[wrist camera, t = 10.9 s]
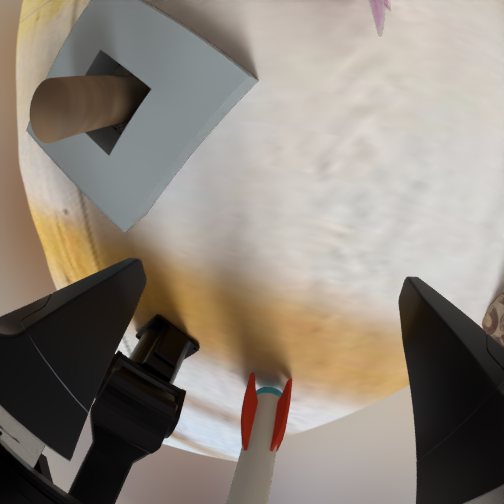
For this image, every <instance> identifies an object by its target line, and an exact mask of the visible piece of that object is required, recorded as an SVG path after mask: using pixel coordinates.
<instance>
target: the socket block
mask: <svg viewBox="0 0 504 504" xmlns="http://www.w3.org/2000/svg"><path fill="white" fill-rule="evenodd" d="M119 64H121V65H122V66H123V67H125V68H126V69H127V70H128V71H130V72H131V73H132V74H134V75H135V76H136V77H137V78H139V79H140V80H141V81H142V82H144V83H145V84H146V85H147V86H149V87H150V88H151V91H150V92H149V93H148V95H147V96H146V98H145V99H144V100H143V102H142V103H141V105H140V106H139V108H138V109H137V111H136V112H135V114H134V115H133V117H132V119H131V120H130V122H129V123H128V125H127V126H126V128H125V130H124V131H123V133H122V135H121V134H120V133H118V132H117V131H116V130H115V129H114V128H113V127H112V126H108V127H104V128H100V129H96V130H92V131H88V132H85V133H81V134H78V135H74V136H71V137H68V138H65V139H62V140H59V141H55V142H53V143H43V142H41V141H40V140H39V139H38V138H37V137H36V136H35V134H34V132H33V130H32V127H31V122H30V121H29V124H28V127H27V130H26V131H27V132H28V133H29V134H30V135H31V137H32V138H33V139H34V140H35V141H36V142H37V144H38V145H39V146H40V147H41V148H42V149H43V150H44V151H45V153H46V154H47V155H48V156H49V157H50V158H51V159H52V160H53V161H54V163H55V164H56V165H57V166H58V167H59V168H60V169H61V170H62V171H63V172H64V173H65V174H66V175H67V177H68V178H69V179H70V180H71V181H72V182H73V183H74V184H75V185H76V186H77V187H78V188H79V189H80V190H81V191H82V192H83V193H84V194H85V195H86V196H87V197H88V198H89V199H90V200H91V201H92V202H93V203H94V204H95V205H96V206H97V207H98V208H99V209H100V210H101V211H102V212H103V213H104V214H105V215H106V216H107V217H108V218H109V219H110V220H111V221H112V222H113V223H114V224H115V225H116V226H117V227H119V228H120V229H121V230H122V231H123V232H124V233H125V232H126V231H128V230H129V229H130V228H131V227H132V226H133V225H135V224H136V223H137V222H138V221H139V220H141V219H142V218H143V217H144V216H145V215H146V214H147V212H148V211H149V210H150V208H151V207H152V205H153V204H154V203H155V201H156V200H157V199H158V197H159V196H160V194H161V193H162V192H163V190H164V189H165V188H166V186H167V185H168V184H169V182H170V181H171V180H172V179H173V177H174V176H175V175H176V173H177V172H178V171H179V170H180V168H181V167H182V166H183V165H184V163H185V162H186V161H187V160H188V158H189V157H190V156H191V155H192V153H193V152H194V151H195V150H196V149H197V147H198V146H199V145H200V144H201V143H202V141H203V140H204V139H205V138H206V137H207V136H208V134H209V133H210V132H211V131H212V130H213V129H214V128H215V126H216V125H217V124H218V123H219V122H220V121H221V120H222V119H223V118H224V116H225V115H226V114H227V113H228V112H229V111H230V110H231V109H232V108H233V107H234V106H235V105H236V103H237V102H238V101H239V100H240V99H241V98H242V97H243V96H244V95H245V94H246V93H247V92H248V91H249V90H250V89H251V88H252V87H253V86H254V85H255V84H256V83H257V82H258V80H257V79H256V78H255V77H254V76H252V75H251V74H250V73H249V72H248V71H246V70H245V69H244V68H243V67H241V66H240V65H239V64H238V63H236V62H235V61H234V60H232V59H231V58H230V57H229V56H227V55H226V54H225V53H223V52H222V51H221V50H219V49H218V48H217V47H215V46H214V45H212V44H211V43H210V42H208V41H207V40H205V39H204V38H203V37H201V36H200V35H198V34H197V33H195V32H194V31H192V30H191V29H189V28H188V27H186V26H185V25H183V24H182V23H180V22H179V21H177V20H175V19H174V18H172V17H170V16H169V15H167V14H166V13H164V12H162V11H160V10H159V9H157V8H155V7H154V6H152V5H150V4H148V3H146V2H145V1H143V0H91V1H90V3H89V4H88V6H87V7H86V8H85V10H84V11H83V13H82V14H81V16H80V17H79V19H78V21H77V22H76V24H75V25H74V27H73V29H72V30H71V32H70V34H69V35H68V37H67V39H66V40H65V42H64V44H63V46H62V48H61V49H60V51H59V53H58V55H57V57H56V59H55V61H54V63H53V65H52V67H51V69H50V71H49V73H48V76H47V78H46V79H48V78H55V77H67V76H87V75H112V74H113V73H114V71H115V69H116V68H117V66H118V65H119Z"/></svg>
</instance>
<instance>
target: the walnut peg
mask: <svg viewBox="0 0 504 504" xmlns="http://www.w3.org/2000/svg"><path fill="white" fill-rule="evenodd" d="M149 92H150V91H149V87H148V86H147V85H146V84H145V83H144V82H142V81H141V80H140V79H139V78H137V77H136V76H126V75H87V76H67V77H55V78H48V79H46V80H44V81H43V82H42V83H41V84H40V85H39V86H38V88H37V89H36V91H35V93H34V95H33V98H32V101H31V106H30V122H31V127H32V130H33V132H34V134H35V136H36V137H37V138H38V139H39V140H40V141H41V142H43V143H53V142H55V141H59V140H62V139H65V138H68V137H71V136H74V135H78V134H81V133H85V132H88V131H92V130H96V129H100V128H104V127H108V126H112V125H116V124H120V123H125V122H130V120H131V119H132V117H133V115H134V114H135V112H136V111H137V109H138V108H139V106H140V105H141V103H142V102H143V100H144V99H145V98H146V96H147V95H148V93H149Z"/></svg>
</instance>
